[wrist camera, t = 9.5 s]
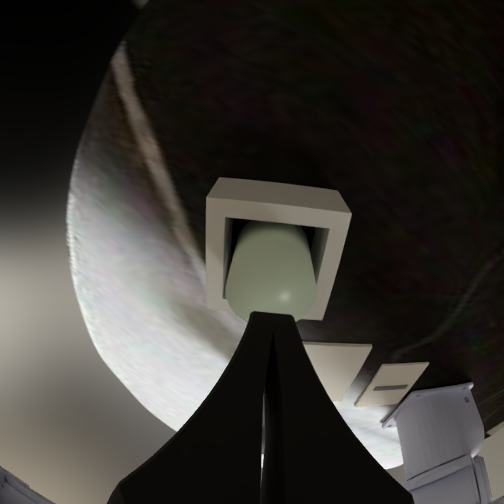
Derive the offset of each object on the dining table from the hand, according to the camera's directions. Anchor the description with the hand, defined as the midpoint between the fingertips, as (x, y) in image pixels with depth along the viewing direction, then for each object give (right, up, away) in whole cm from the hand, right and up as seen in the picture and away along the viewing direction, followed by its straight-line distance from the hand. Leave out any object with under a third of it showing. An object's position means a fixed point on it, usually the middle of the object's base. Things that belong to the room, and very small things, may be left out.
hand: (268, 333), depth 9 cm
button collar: (+1, +4, +6) cm, 7 cm away
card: (+12, -10, +13) cm, 20 cm away
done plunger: (0, +3, +5) cm, 6 cm away
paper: (+4, -7, +12) cm, 15 cm away
